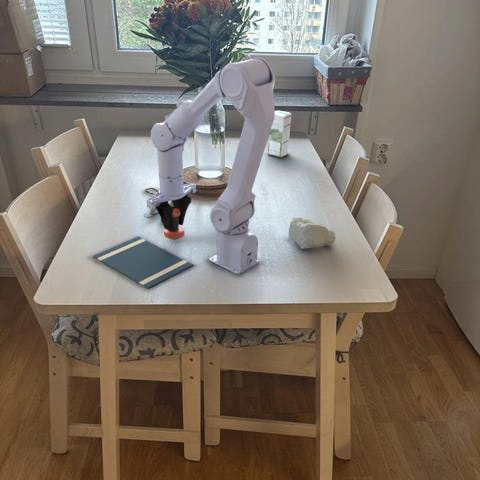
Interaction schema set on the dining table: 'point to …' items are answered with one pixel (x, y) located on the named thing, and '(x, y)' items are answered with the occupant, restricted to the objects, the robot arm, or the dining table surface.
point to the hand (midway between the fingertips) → (173, 226)
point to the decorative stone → (310, 233)
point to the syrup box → (279, 134)
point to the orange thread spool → (174, 227)
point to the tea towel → (143, 262)
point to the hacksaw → (154, 208)
